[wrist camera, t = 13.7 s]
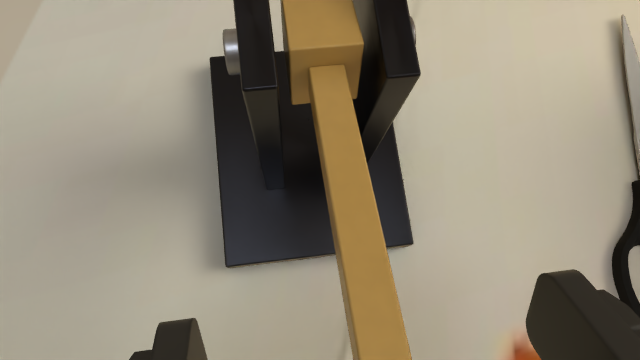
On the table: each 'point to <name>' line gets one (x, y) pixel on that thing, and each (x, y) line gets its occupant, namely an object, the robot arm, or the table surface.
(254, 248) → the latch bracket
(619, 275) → the scissors
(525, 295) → the table surface
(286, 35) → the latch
